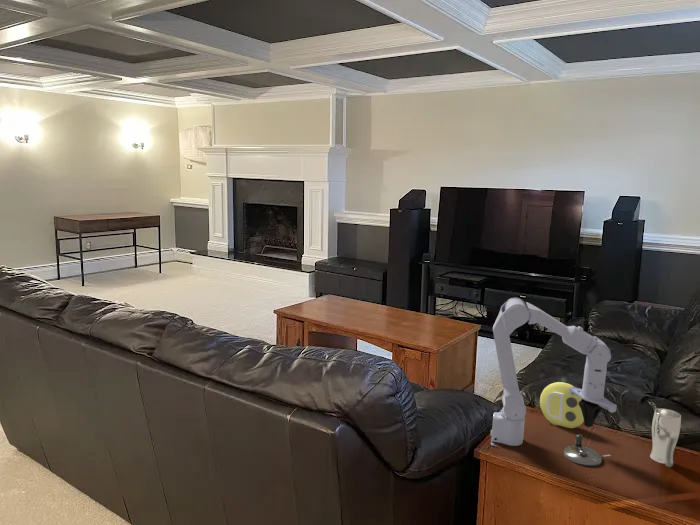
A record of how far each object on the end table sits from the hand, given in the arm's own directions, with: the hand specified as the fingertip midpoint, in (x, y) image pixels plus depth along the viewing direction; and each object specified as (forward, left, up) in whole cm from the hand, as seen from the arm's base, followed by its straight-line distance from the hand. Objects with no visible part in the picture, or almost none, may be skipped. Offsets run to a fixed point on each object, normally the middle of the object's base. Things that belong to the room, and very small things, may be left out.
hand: (588, 425), depth 159 cm
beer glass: (+21, +2, -9) cm, 23 cm away
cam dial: (-1, -6, -8) cm, 10 cm away
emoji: (-6, +16, -9) cm, 19 cm away
